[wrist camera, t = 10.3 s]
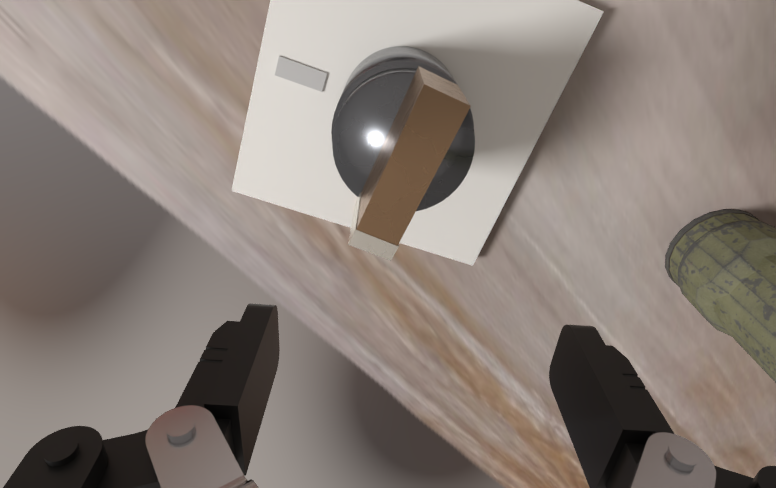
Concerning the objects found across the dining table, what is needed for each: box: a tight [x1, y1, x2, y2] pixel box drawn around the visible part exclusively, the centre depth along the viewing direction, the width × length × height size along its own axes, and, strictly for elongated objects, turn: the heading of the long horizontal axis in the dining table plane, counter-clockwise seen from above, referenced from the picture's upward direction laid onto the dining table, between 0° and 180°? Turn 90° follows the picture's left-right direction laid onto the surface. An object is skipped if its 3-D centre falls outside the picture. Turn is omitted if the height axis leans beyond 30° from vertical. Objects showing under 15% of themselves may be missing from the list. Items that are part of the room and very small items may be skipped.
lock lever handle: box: [332, 66, 475, 261], centre depth 27 cm, size 9×8×7 cm
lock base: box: [232, 0, 604, 265], centre depth 34 cm, size 22×22×9 cm
